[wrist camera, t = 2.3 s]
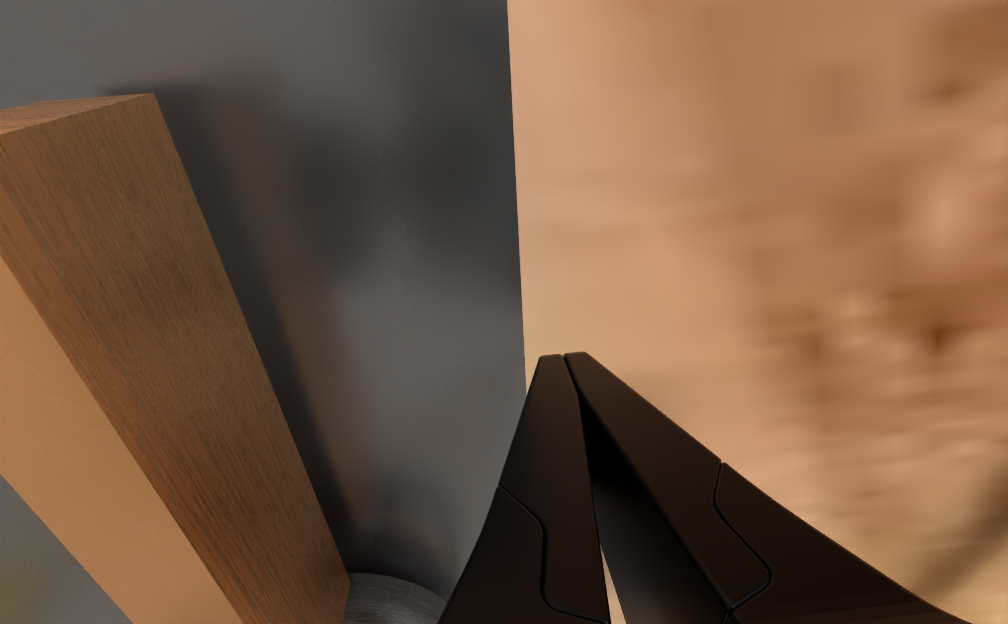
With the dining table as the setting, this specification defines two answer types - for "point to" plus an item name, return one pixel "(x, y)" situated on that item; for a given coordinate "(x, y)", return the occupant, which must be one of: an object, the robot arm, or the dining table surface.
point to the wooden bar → (152, 388)
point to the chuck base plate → (324, 249)
